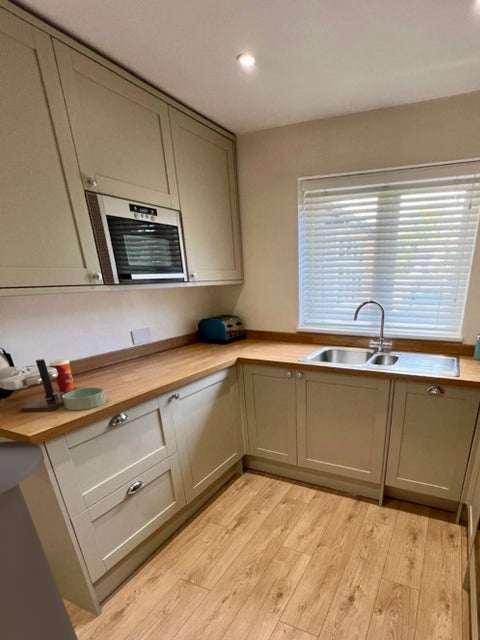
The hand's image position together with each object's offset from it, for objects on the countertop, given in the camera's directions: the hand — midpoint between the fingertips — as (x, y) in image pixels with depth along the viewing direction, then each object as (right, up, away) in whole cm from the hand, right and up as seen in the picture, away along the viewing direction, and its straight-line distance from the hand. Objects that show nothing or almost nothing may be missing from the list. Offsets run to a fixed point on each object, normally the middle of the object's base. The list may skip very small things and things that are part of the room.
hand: (47, 378), depth 134 cm
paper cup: (-7, -4, +21) cm, 22 cm away
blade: (-1, -9, +3) cm, 9 cm away
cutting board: (-1, -10, +5) cm, 11 cm away
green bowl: (+14, -10, +2) cm, 18 cm away
